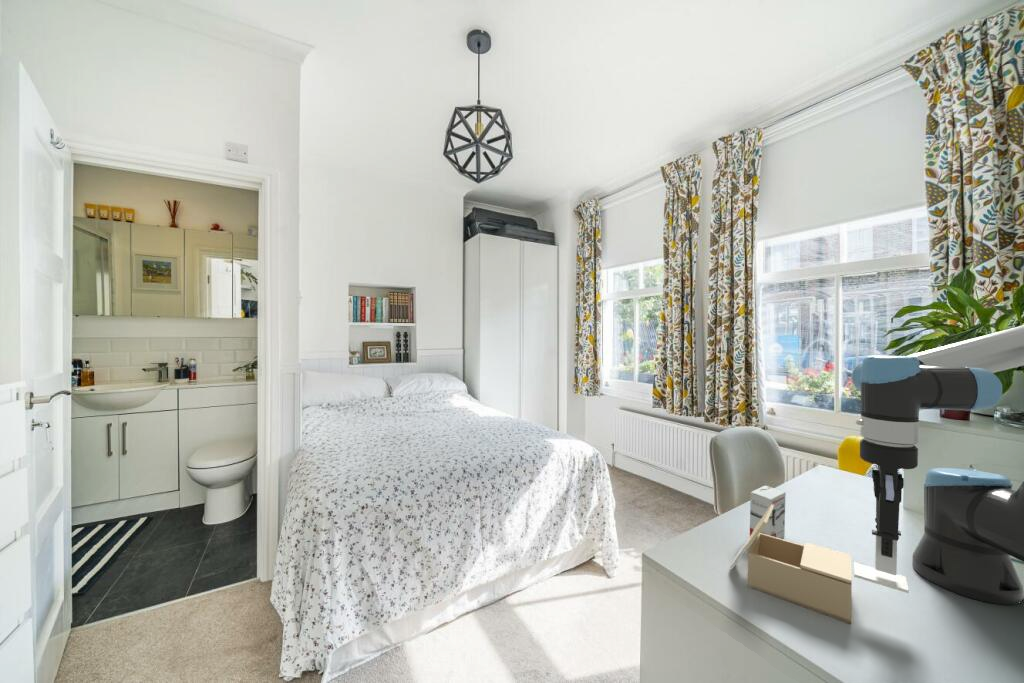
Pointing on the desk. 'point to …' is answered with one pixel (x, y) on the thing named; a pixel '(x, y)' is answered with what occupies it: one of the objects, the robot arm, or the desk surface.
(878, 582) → the near flap
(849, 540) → the desk surface
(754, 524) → the ink box
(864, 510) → the desk surface
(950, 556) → the robot arm
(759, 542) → the carton
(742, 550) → the far flap
